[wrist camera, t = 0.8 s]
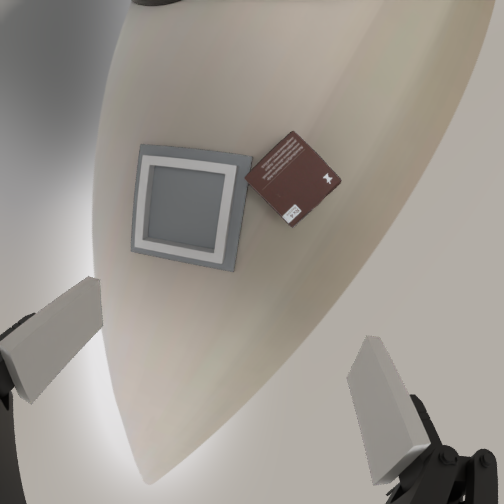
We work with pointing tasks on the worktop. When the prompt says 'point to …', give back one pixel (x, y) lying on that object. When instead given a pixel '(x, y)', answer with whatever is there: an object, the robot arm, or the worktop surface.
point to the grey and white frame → (189, 205)
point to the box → (292, 179)
